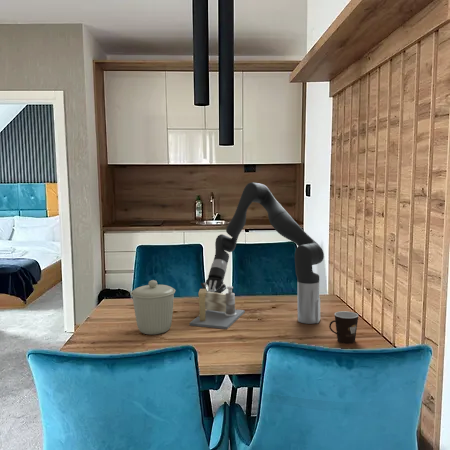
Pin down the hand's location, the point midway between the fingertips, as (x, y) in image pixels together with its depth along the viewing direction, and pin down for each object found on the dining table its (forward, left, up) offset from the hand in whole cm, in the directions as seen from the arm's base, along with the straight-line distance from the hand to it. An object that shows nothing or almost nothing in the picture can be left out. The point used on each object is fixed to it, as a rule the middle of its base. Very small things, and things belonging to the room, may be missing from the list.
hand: (209, 302), depth 207 cm
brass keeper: (-2, +11, -5) cm, 13 cm away
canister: (+12, +30, -5) cm, 32 cm away
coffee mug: (-62, +20, -5) cm, 65 cm away
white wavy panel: (-6, +3, -3) cm, 7 cm away
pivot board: (-7, +8, -5) cm, 11 cm away
